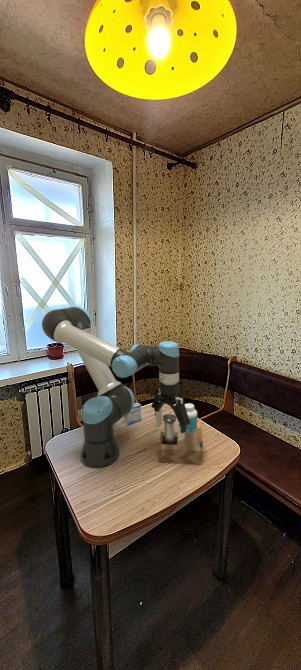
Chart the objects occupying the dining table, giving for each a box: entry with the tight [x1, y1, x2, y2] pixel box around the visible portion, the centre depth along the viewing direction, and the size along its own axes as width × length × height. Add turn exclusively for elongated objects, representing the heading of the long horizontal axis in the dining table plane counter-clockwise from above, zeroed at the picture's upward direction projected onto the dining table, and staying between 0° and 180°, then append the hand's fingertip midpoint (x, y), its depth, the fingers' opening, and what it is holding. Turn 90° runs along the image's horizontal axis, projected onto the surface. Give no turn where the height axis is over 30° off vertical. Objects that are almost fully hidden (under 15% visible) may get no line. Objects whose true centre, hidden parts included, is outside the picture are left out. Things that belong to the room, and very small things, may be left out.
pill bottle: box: [184, 402, 198, 433], centre depth 124 cm, size 8×7×14 cm
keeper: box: [197, 421, 204, 442], centre depth 107 cm, size 6×4×1 cm
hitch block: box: [158, 430, 204, 466], centre depth 109 cm, size 17×12×8 cm
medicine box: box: [123, 402, 142, 426], centre depth 135 cm, size 8×4×9 cm, turn 123°
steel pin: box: [162, 413, 177, 445], centre depth 109 cm, size 5×5×16 cm
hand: (169, 432), depth 109 cm, fingers open, 13 cm apart
